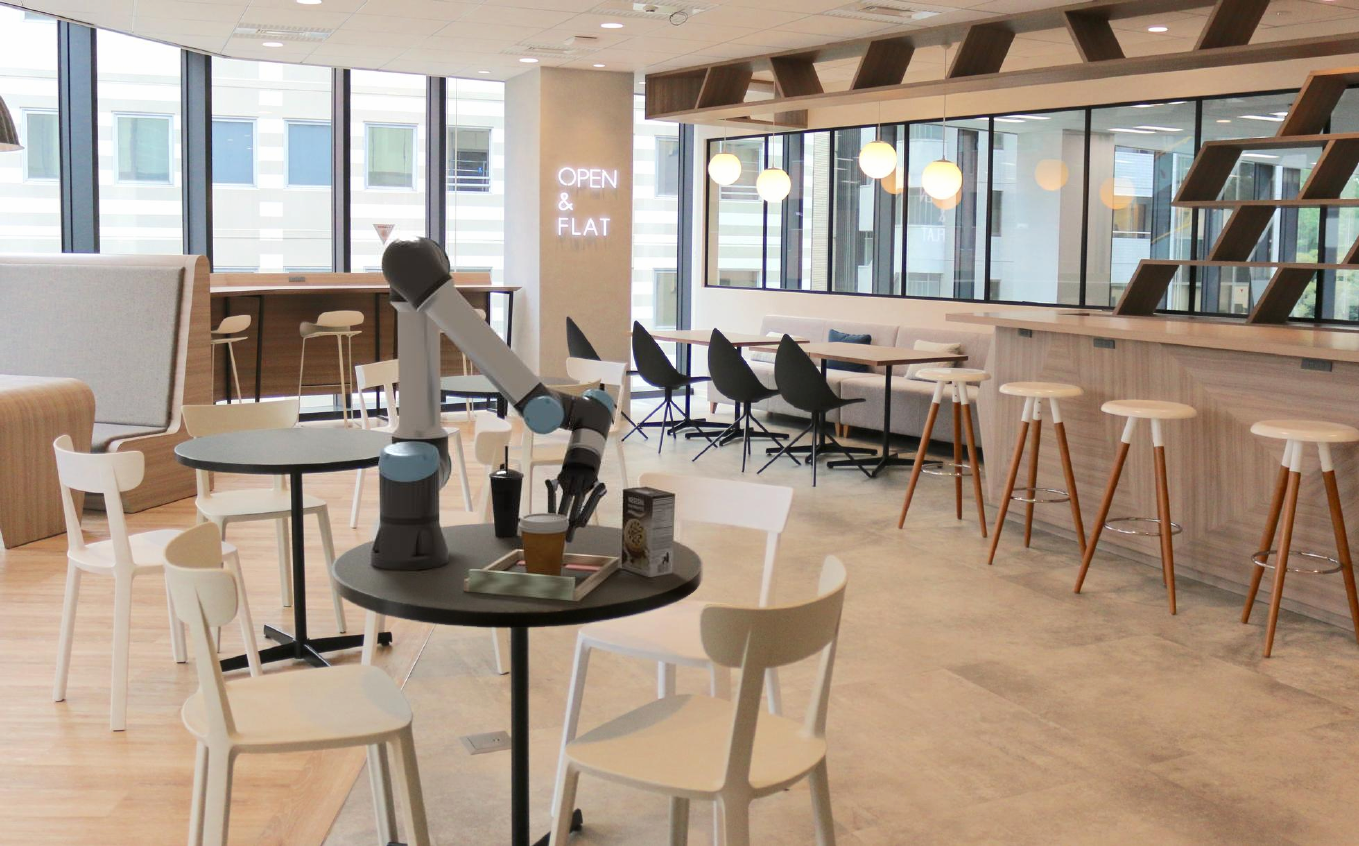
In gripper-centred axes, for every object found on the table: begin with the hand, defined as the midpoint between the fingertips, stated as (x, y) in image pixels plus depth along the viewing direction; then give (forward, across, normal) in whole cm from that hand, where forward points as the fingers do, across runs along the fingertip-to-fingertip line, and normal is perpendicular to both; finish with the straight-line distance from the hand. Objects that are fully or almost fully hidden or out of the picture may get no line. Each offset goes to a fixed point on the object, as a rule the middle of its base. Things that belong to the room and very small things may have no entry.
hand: (557, 554), depth 229 cm
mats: (-2, +1, -7) cm, 7 cm away
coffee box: (-2, -16, -8) cm, 18 cm away
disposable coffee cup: (+6, +1, +1) cm, 6 cm away
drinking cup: (-17, +22, -24) cm, 37 cm away
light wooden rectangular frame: (+6, +1, 0) cm, 6 cm away
